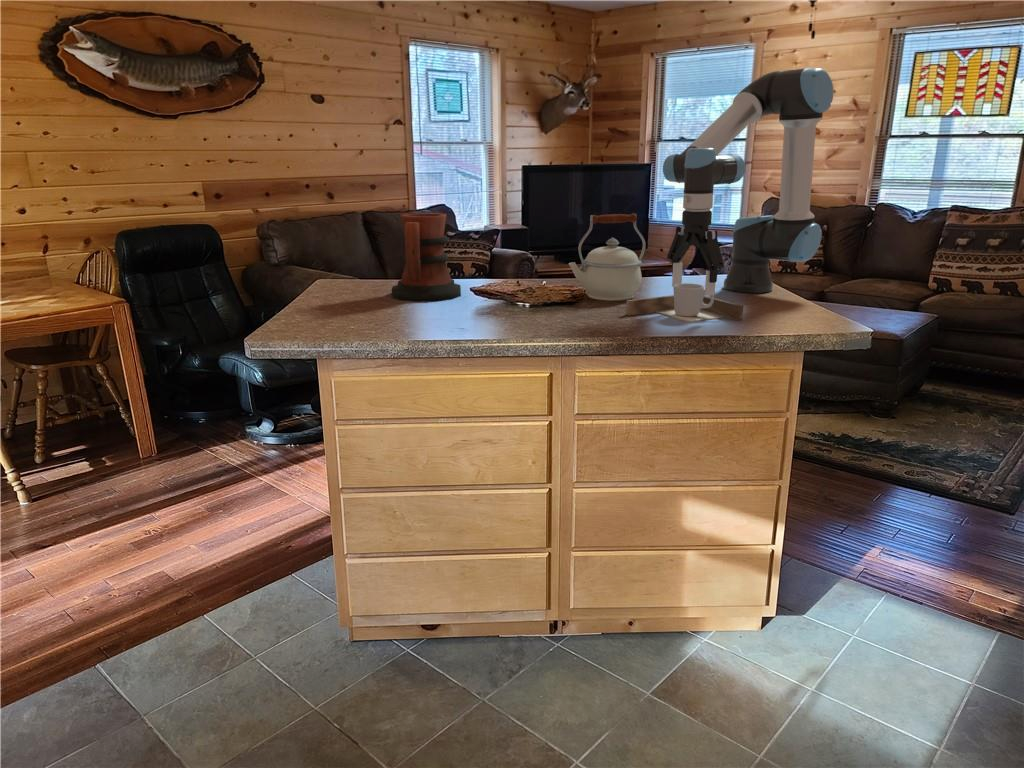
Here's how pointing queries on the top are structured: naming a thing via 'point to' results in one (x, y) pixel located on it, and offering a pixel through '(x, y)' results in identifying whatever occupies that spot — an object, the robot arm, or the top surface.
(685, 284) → the cup
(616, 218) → the kettle
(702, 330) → the top surface
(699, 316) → the wooden corner frame
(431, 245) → the tankard
